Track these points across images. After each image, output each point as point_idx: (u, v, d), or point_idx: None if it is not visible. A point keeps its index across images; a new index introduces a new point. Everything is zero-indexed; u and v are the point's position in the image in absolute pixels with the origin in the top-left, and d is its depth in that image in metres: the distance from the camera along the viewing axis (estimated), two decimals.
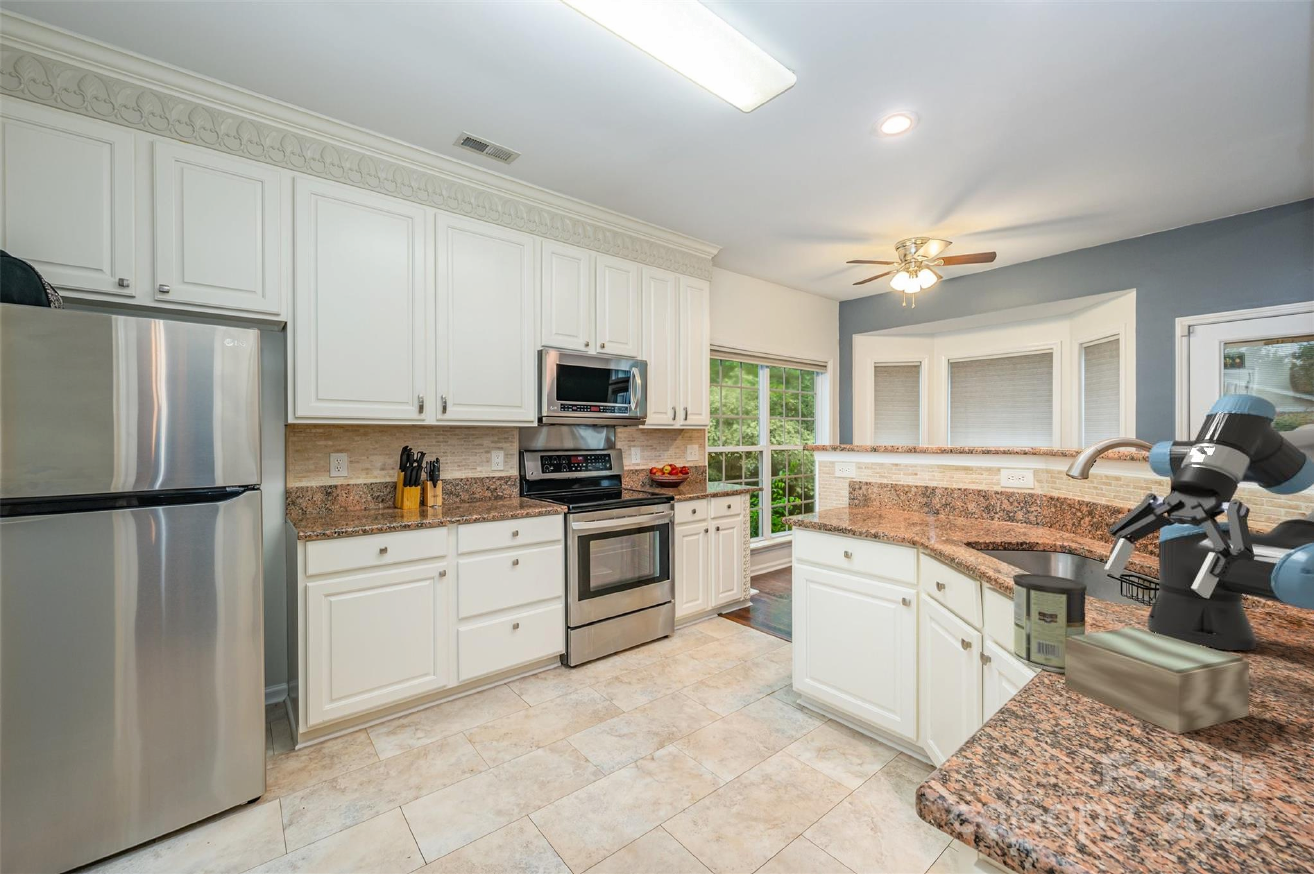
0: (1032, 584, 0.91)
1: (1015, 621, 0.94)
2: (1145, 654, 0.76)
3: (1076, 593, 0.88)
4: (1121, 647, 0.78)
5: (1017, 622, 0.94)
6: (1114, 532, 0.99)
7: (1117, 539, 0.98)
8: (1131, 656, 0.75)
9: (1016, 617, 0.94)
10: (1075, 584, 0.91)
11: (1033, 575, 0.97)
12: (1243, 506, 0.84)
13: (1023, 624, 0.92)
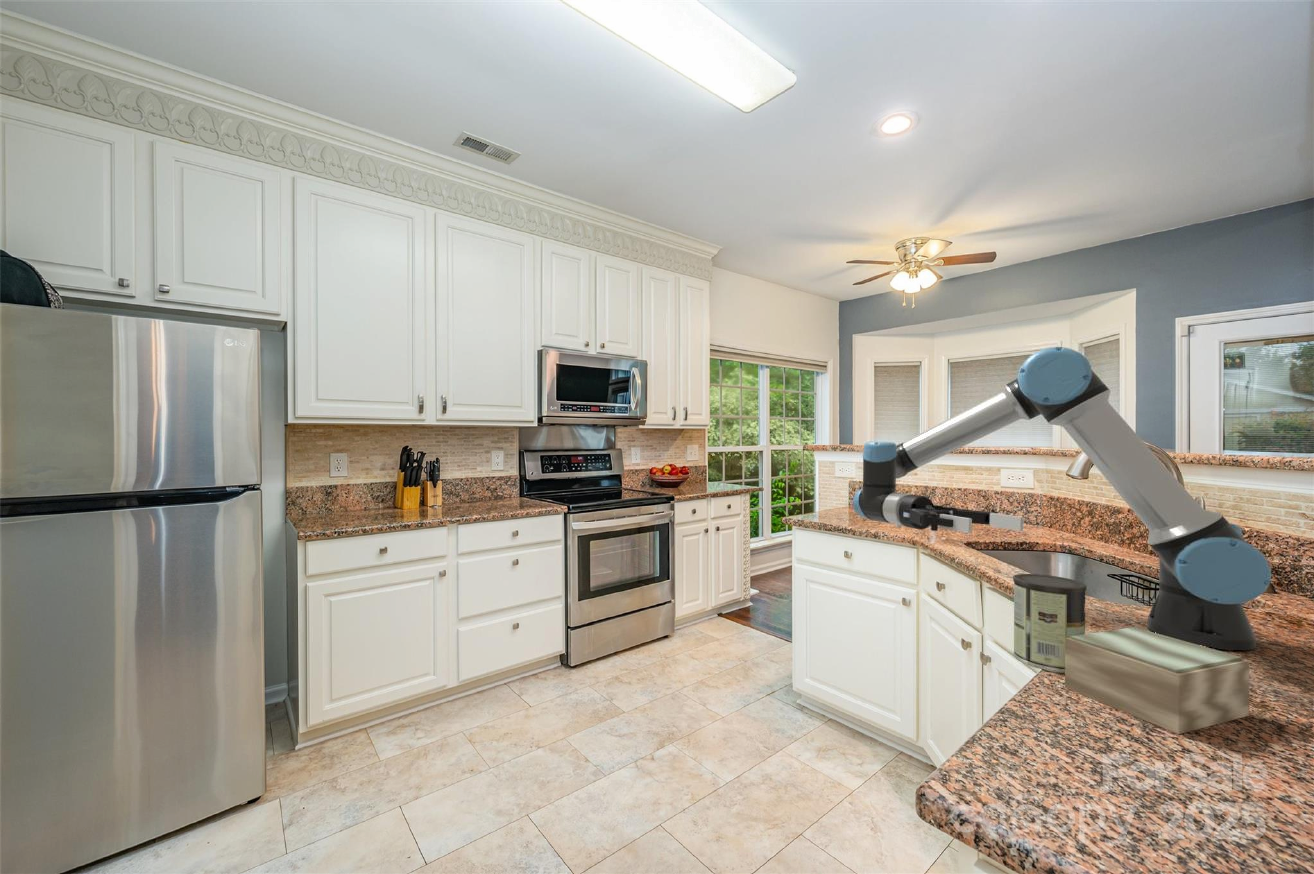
0: (1032, 584, 0.91)
1: (1015, 621, 0.94)
2: (1145, 654, 0.76)
3: (1076, 593, 0.88)
4: (1121, 647, 0.78)
5: (1017, 622, 0.94)
6: None
7: None
8: (1131, 656, 0.75)
9: (1016, 617, 0.94)
10: (1075, 584, 0.91)
11: (1033, 575, 0.97)
12: (904, 515, 1.15)
13: (1023, 624, 0.92)
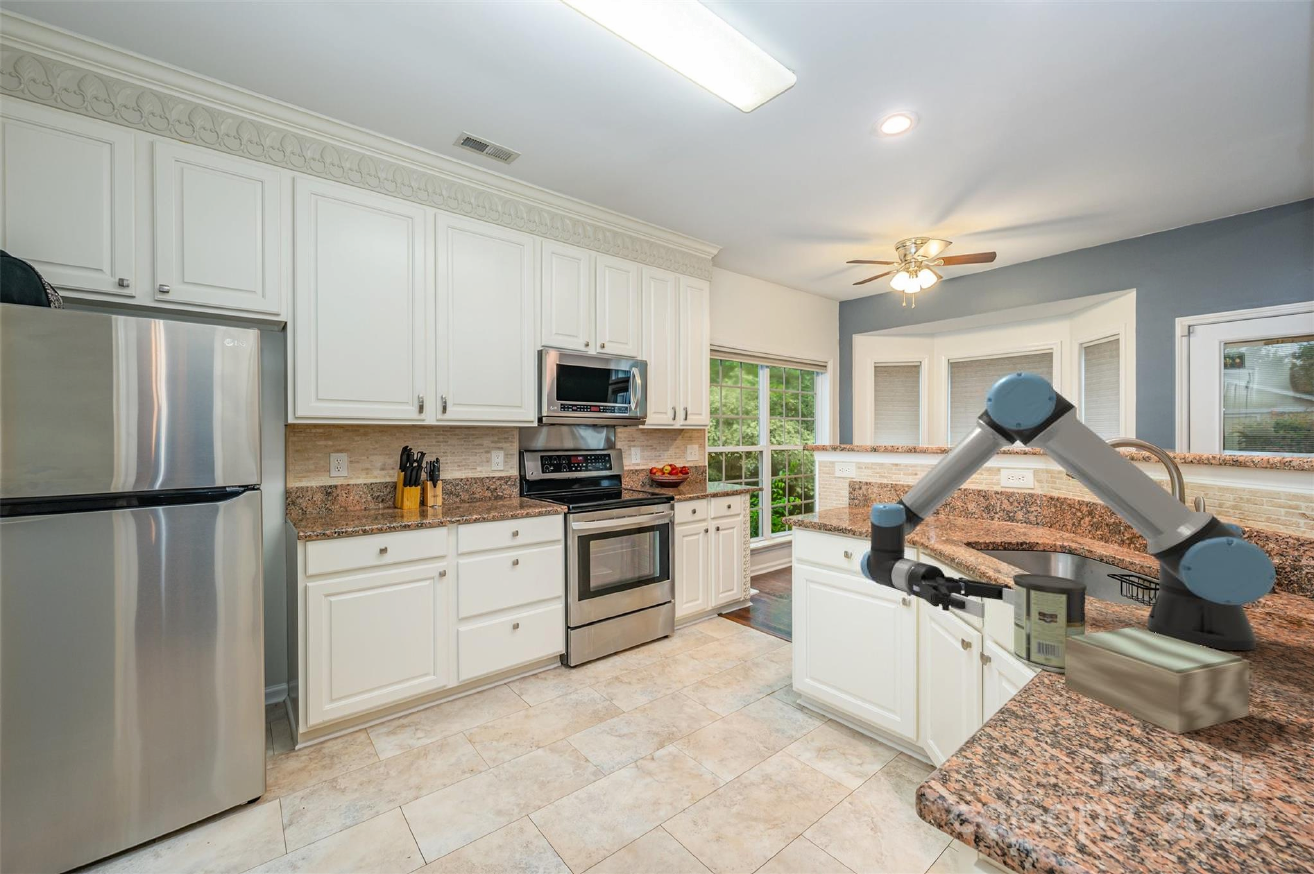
0: (1032, 584, 0.91)
1: (1015, 621, 0.94)
2: (1145, 654, 0.76)
3: (1076, 593, 0.88)
4: (1121, 647, 0.78)
5: (1017, 622, 0.94)
6: None
7: None
8: (1131, 656, 0.75)
9: (1016, 617, 0.94)
10: (1075, 584, 0.91)
11: (1033, 575, 0.97)
12: (914, 588, 1.11)
13: (1023, 624, 0.92)
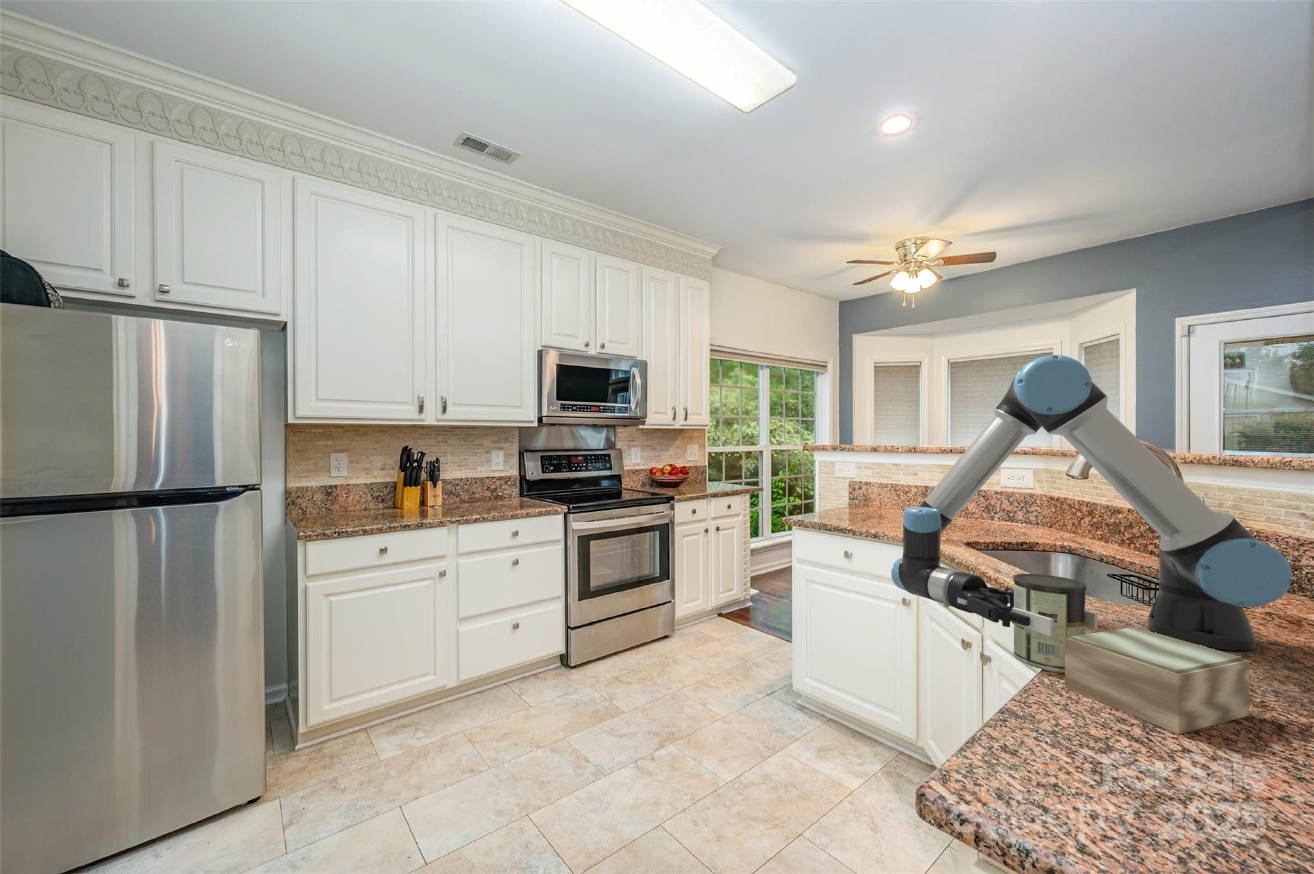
0: (1032, 584, 0.91)
1: None
2: (1145, 654, 0.76)
3: (1076, 593, 0.88)
4: (1121, 647, 0.78)
5: None
6: None
7: None
8: (1131, 656, 0.75)
9: None
10: (1075, 584, 0.91)
11: (1033, 575, 0.97)
12: (959, 601, 1.02)
13: None
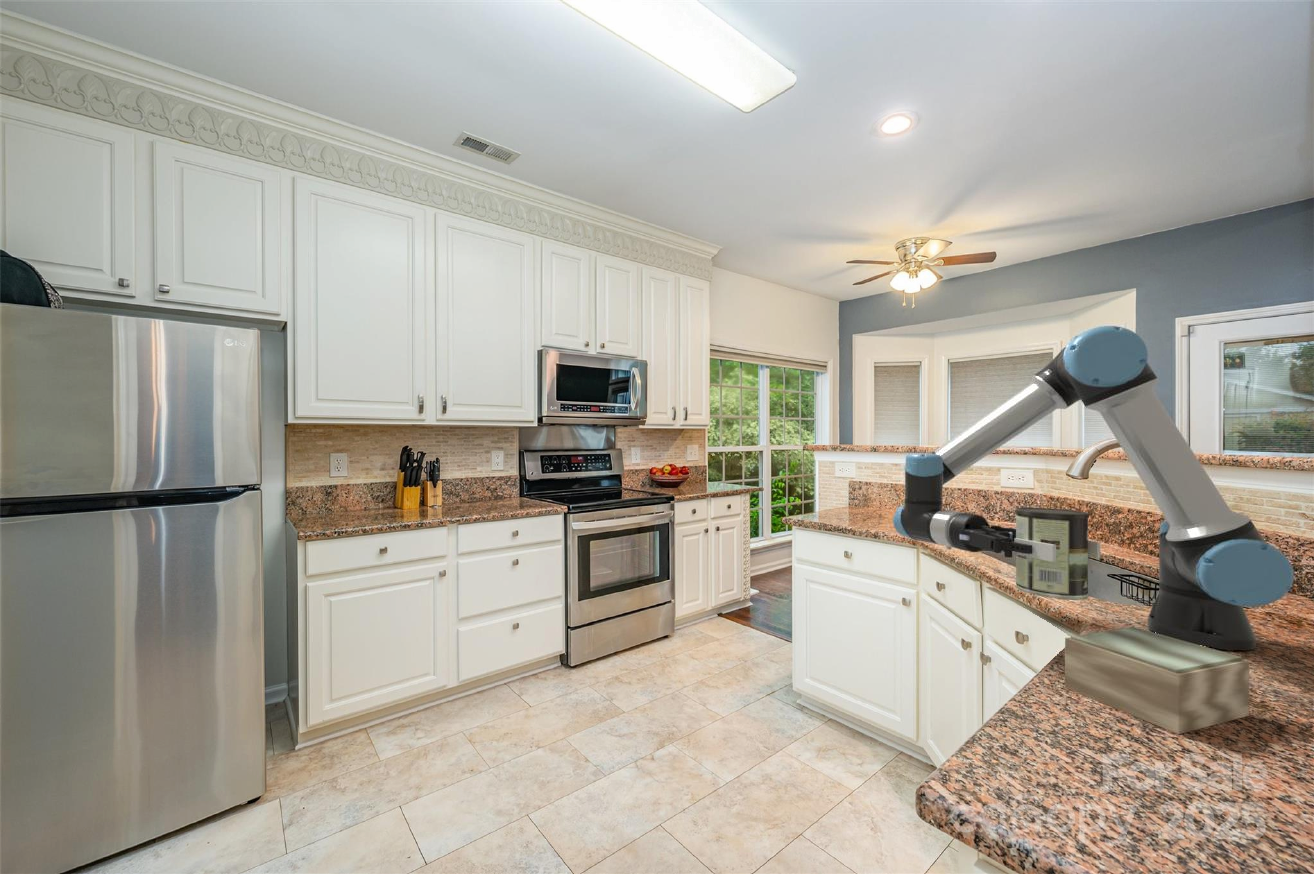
0: (1034, 512, 0.90)
1: None
2: (1145, 654, 0.76)
3: (1079, 520, 0.88)
4: (1121, 647, 0.78)
5: None
6: None
7: None
8: (1131, 656, 0.75)
9: None
10: (1078, 513, 0.91)
11: (1035, 508, 0.97)
12: (961, 538, 1.02)
13: None
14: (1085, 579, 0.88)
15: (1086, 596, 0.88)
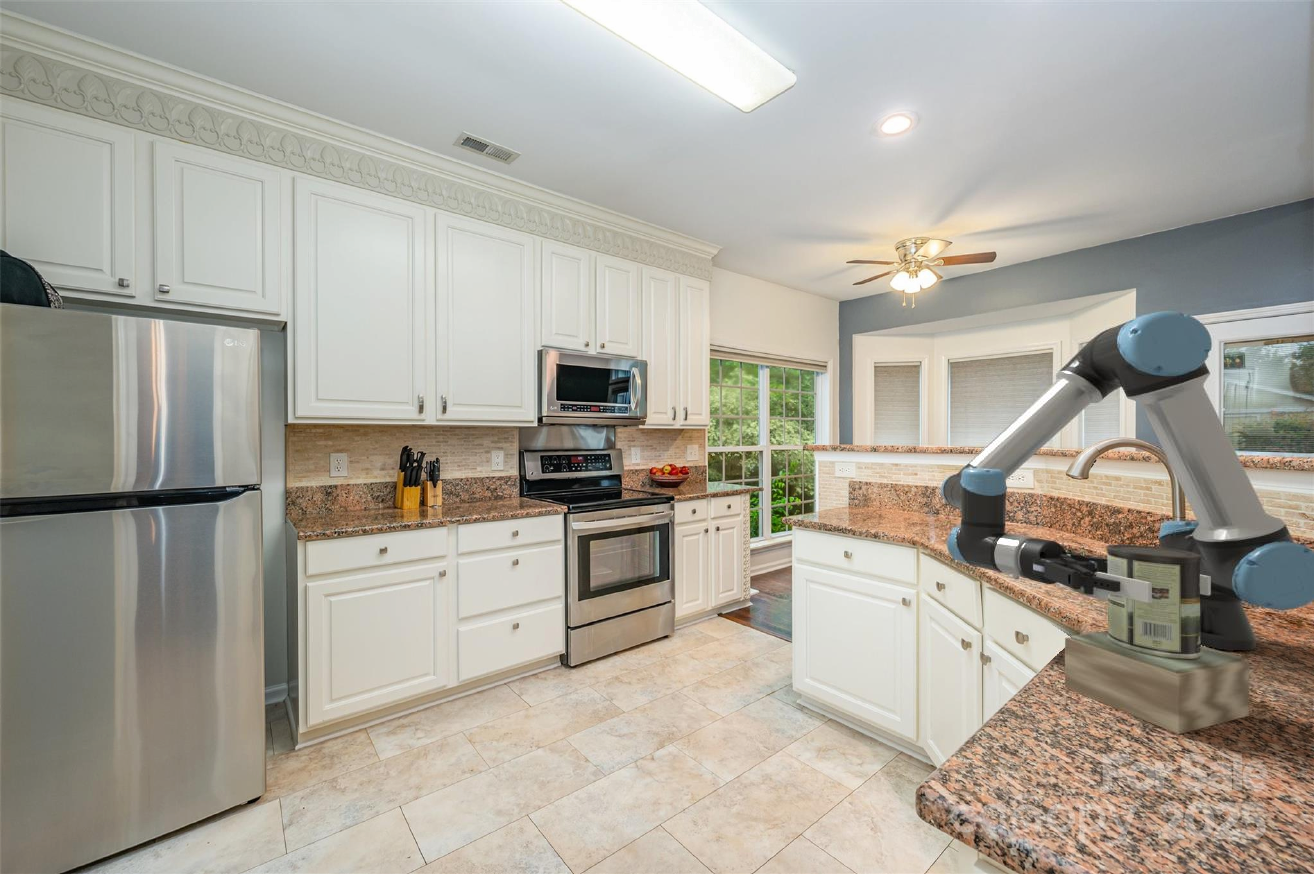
0: (1135, 554, 0.77)
1: (1111, 599, 0.80)
2: (1145, 654, 0.76)
3: (1192, 564, 0.74)
4: (1121, 647, 0.78)
5: (1114, 600, 0.80)
6: None
7: None
8: (1131, 656, 0.75)
9: (1112, 594, 0.80)
10: (1186, 554, 0.77)
11: (1128, 546, 0.83)
12: (1035, 568, 0.89)
13: (1123, 601, 0.78)
14: (1198, 634, 0.75)
15: (1200, 654, 0.75)
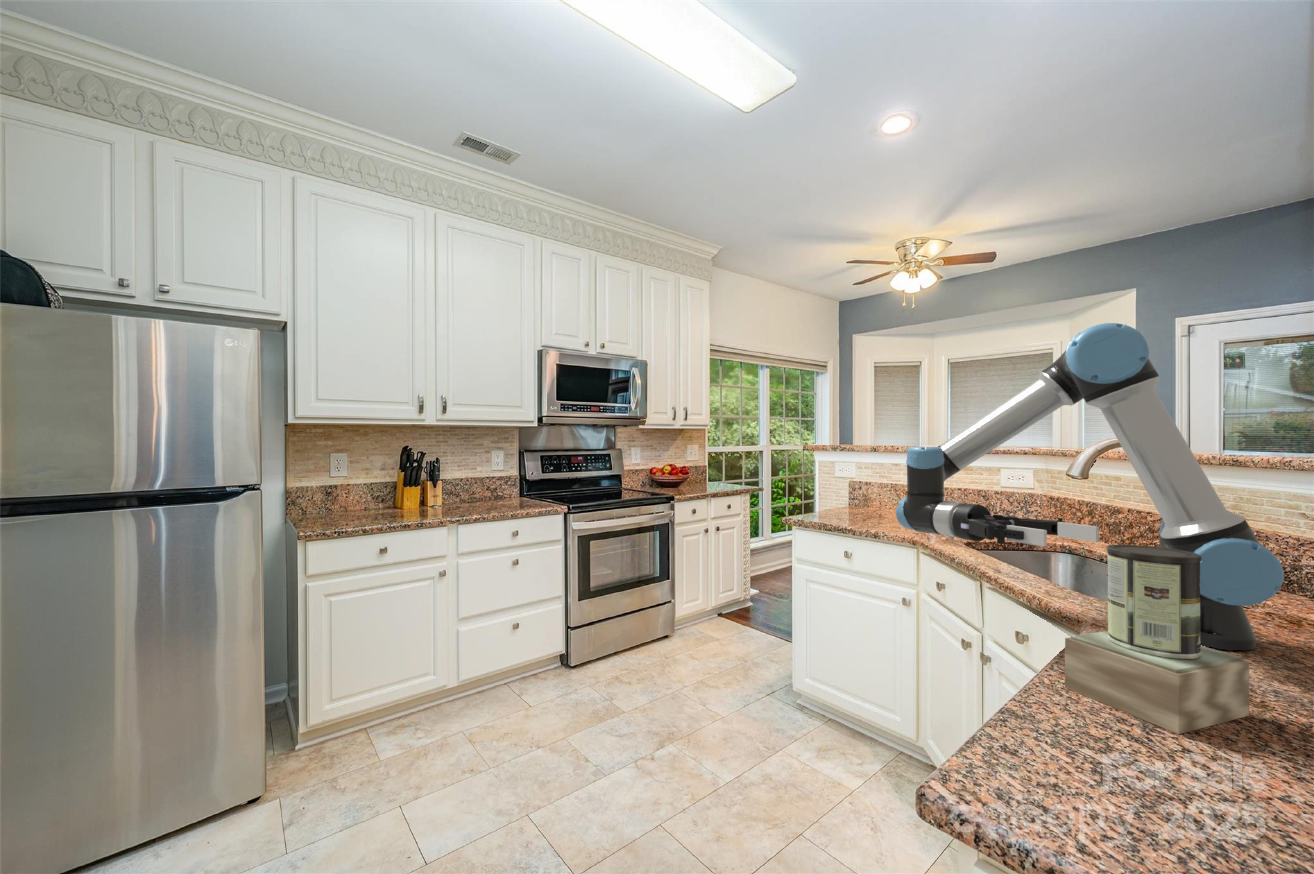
0: (1136, 554, 0.77)
1: (1111, 599, 0.80)
2: (1145, 654, 0.76)
3: (1192, 564, 0.74)
4: (1121, 647, 0.78)
5: (1114, 600, 0.80)
6: None
7: None
8: (1131, 656, 0.75)
9: (1112, 594, 0.80)
10: (1186, 554, 0.77)
11: (1128, 546, 0.83)
12: (962, 526, 1.05)
13: (1124, 601, 0.78)
14: (1199, 634, 0.75)
15: (1200, 654, 0.75)
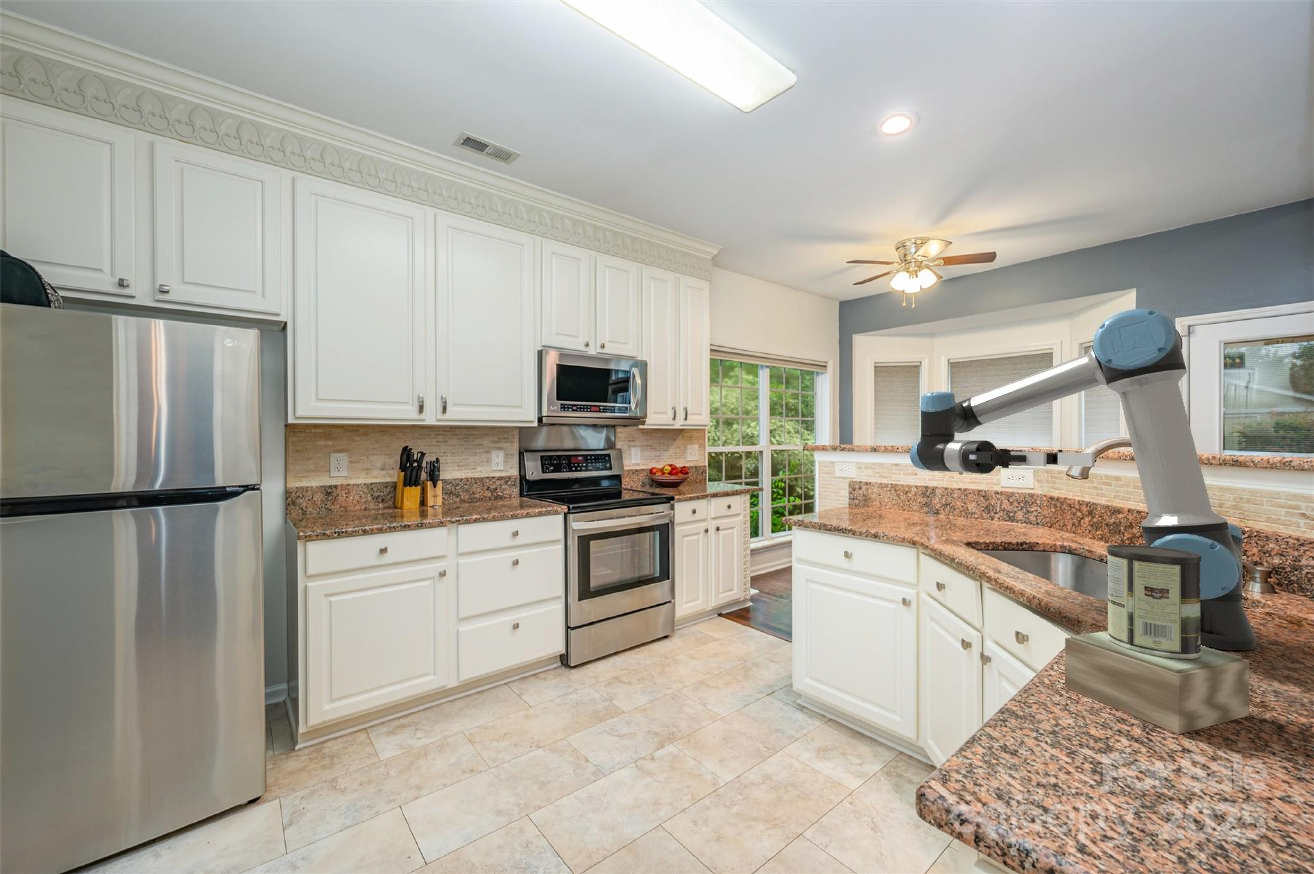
0: (1136, 554, 0.77)
1: (1111, 599, 0.80)
2: (1145, 654, 0.76)
3: (1192, 564, 0.74)
4: (1121, 647, 0.78)
5: (1114, 600, 0.80)
6: None
7: None
8: (1131, 656, 0.75)
9: (1112, 594, 0.80)
10: (1186, 554, 0.77)
11: (1129, 546, 0.83)
12: (970, 457, 1.16)
13: (1124, 601, 0.78)
14: (1199, 634, 0.75)
15: (1200, 654, 0.75)
